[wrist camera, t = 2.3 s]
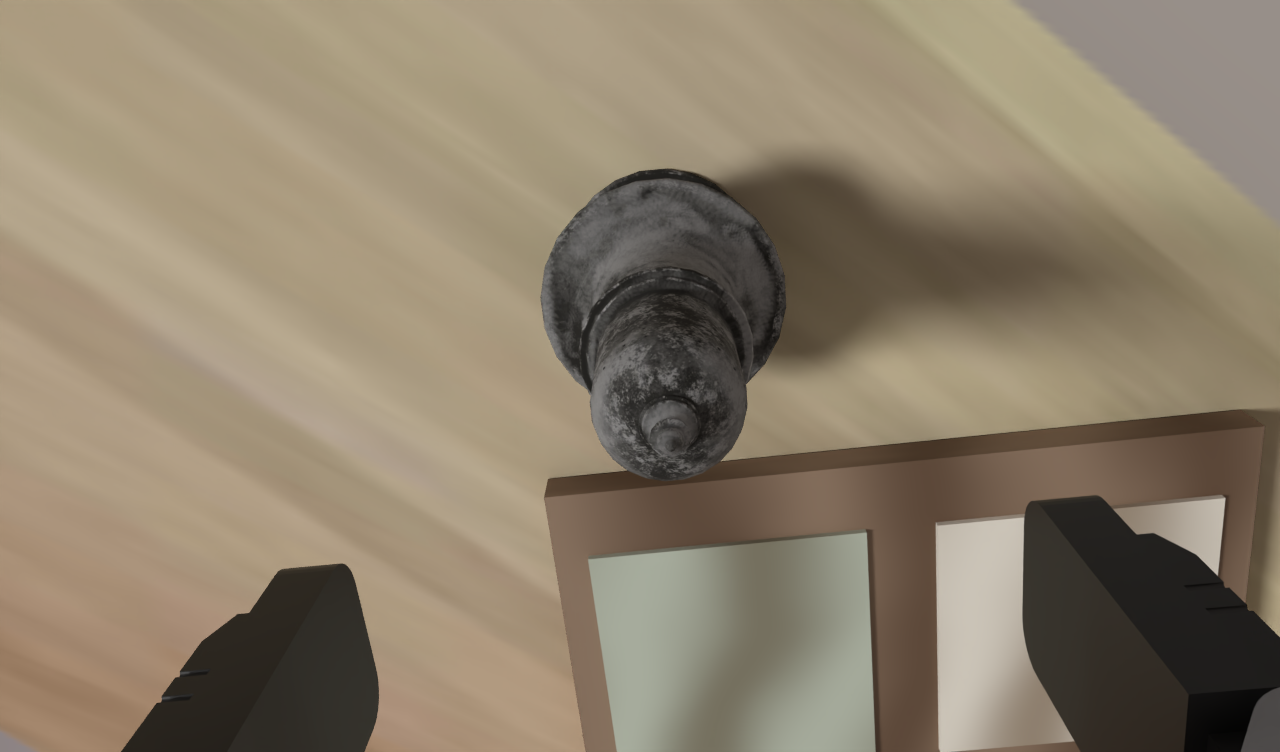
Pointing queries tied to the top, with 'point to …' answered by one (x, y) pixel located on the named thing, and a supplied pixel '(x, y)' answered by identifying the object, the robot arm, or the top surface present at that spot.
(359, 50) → the top surface
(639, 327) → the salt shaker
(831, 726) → the board
